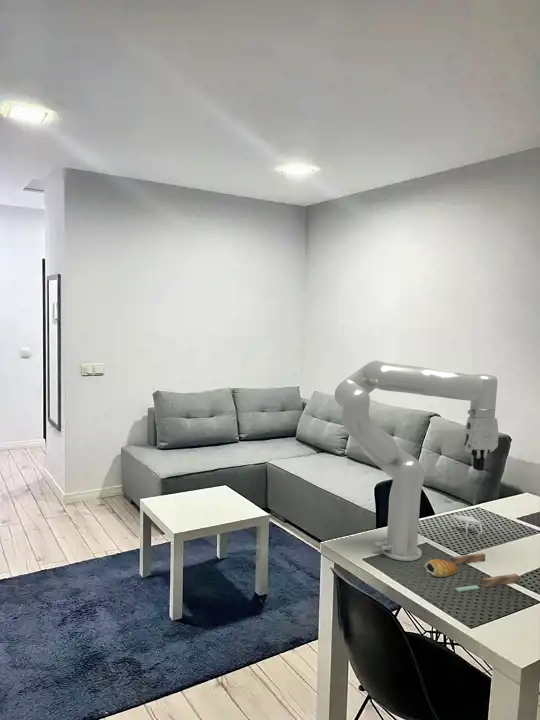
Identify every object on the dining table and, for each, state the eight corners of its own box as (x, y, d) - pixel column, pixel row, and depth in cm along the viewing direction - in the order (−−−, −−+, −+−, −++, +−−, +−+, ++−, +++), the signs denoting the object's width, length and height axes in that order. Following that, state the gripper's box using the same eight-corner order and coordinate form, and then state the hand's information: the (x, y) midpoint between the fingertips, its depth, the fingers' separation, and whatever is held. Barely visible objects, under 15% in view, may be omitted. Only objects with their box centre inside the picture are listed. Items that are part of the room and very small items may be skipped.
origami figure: (484, 530, 202) (485, 517, 202) (481, 538, 195) (482, 524, 194) (449, 523, 207) (450, 510, 207) (445, 531, 200) (446, 517, 200)
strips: (458, 592, 156) (458, 590, 156) (424, 565, 172) (424, 564, 172) (479, 589, 158) (479, 587, 158) (443, 563, 174) (443, 562, 174)
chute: (483, 587, 159) (484, 580, 159) (450, 563, 174) (450, 557, 174) (518, 582, 163) (518, 575, 163) (482, 559, 178) (483, 553, 178)
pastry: (448, 565, 173) (449, 553, 172) (462, 576, 166) (463, 563, 166) (422, 569, 170) (423, 557, 169) (435, 580, 163) (436, 567, 163)
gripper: (470, 416, 174) (466, 474, 176) (509, 415, 179) (505, 471, 180) (455, 411, 181) (451, 467, 183) (493, 410, 186) (489, 465, 188)
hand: (478, 469), depth 182 cm, fingers closed
